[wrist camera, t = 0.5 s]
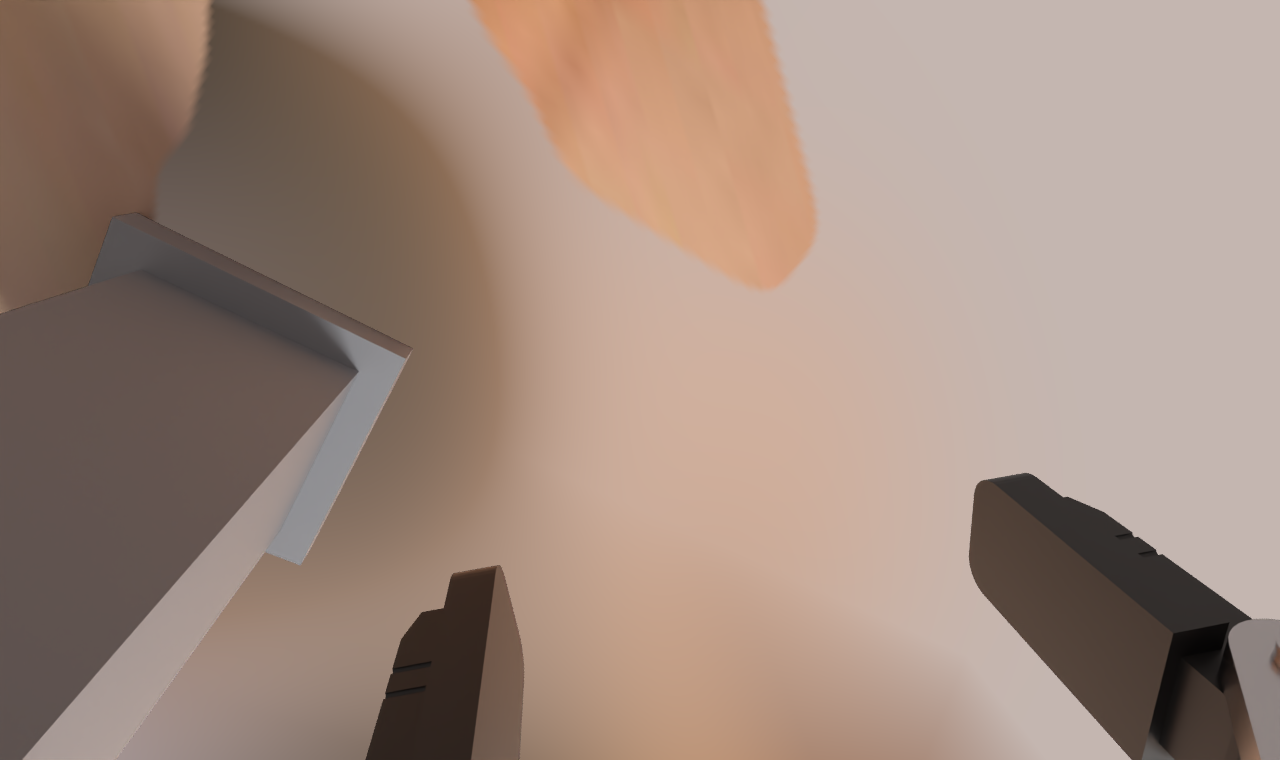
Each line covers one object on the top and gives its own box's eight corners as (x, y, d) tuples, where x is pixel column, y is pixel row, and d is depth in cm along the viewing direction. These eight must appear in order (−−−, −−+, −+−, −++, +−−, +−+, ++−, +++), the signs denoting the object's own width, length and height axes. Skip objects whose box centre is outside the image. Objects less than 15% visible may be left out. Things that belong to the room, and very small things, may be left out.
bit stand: (51, 446, 40) (-1734, 1528, 9) (135, 212, 36) (-2565, 698, 5) (311, 547, 44) (-279, 1510, 13) (413, 348, 40) (-91, 1061, 9)
